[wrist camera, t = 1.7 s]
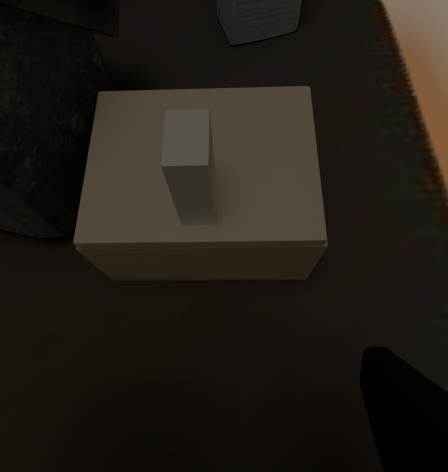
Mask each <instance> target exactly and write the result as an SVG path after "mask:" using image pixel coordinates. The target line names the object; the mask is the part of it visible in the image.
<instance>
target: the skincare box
mask: <svg viewBox="0 0 448 472" xmlns="http://www.w3.org/2000/svg"><path fill="white" fill-rule="evenodd" d="M301 4H302V0H217V15H218V17H219V20H220V22H221V24H222V27H223V29H224V32H225V34H226V36H227V39H228V41H229V44H230V45H238V44H243V43H248V42H253V41H258V40H263V39H267V38H271V37H275V36H279V35H284V34H288V33H291V32H293V31H295V30H296V29H297V27H298V21H299V15H300V9H301Z"/></svg>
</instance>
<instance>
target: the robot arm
mask: <svg viewBox="0 0 448 472" xmlns="http://www.w3.org/2000/svg"><path fill="white" fill-rule="evenodd" d="M360 386H361V391H362V394H363V398H364V402H365V406H366V410H367V413H368V417H369V421H370V425H371V428H372V432H373V436H374V440H375V444H376V447H377V451H378V454H379V458H380V461H381V464H382V467H383V469H384V472H448V392H446V391H445V390H444V389H442V388H441V387H440V386H438V385H437V384H435V383H434V382H433V381H431V380H430V379H429V378H427V377H426V376H424V375H423V374H422V373H420V372H419V371H418V370H416V369H415V368H413V367H412V366H411V365H409V364H408V363H407V362H405V361H404V360H402V359H401V358H400V357H398V356H397V355H396V354H394V353H393V352H391V351H390V350H389V349H387V348H385V347H367V348H365V350H364V353H363V359H362V365H361V372H360Z"/></svg>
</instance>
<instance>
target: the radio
mask: <svg viewBox="0 0 448 472" xmlns="http://www.w3.org/2000/svg"><path fill="white" fill-rule="evenodd" d="M118 33H119V0H0V229H1V230H6V231H10V232H15V233H19V234H24V235H28V236H33V237H37V238H57V237H67V236H68V235H69V233H70V232H71V231H72V230H73V229H74V228H75V227H76V223H77V218H78V212H79V206H80V200H81V194H82V188H83V182H84V176H85V170H86V164H87V158H88V152H89V146H90V140H91V134H92V128H93V123H94V117H95V111H96V105H97V99H98V93H99V92H100V91H116V89H115V87H114V84H113V82H112V79H111V77H110V74H109V72H108V70H107V67H106V65H105V62H104V60H103V58H102V55H101V53H100V50H99V48H98V45H97V43H96V41H95V38H94V36H93V34H98V35H105V36H112V37H118Z"/></svg>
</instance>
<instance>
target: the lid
mask: <svg viewBox="0 0 448 472" xmlns="http://www.w3.org/2000/svg"><path fill="white" fill-rule="evenodd" d="M326 241H327V234H326V225H325V216H324V208H323V199H322V190H321V181H320V172H319V163H318V155H317V146H316V137H315V128H314V119H313V110H312V102H311V93H310V86H296V87H257V88H218V89H178V90H139V91H100V92H99V93H98V99H97V105H96V111H95V117H94V123H93V128H92V134H91V140H90V146H89V152H88V158H87V164H86V170H85V176H84V182H83V188H82V194H81V200H80V206H79V212H78V218H77V223H76V229H75V235H74V241H73V244H75V245H76V246H77V247H78V248H103V247H192V246H281V245H325V243H326Z"/></svg>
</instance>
